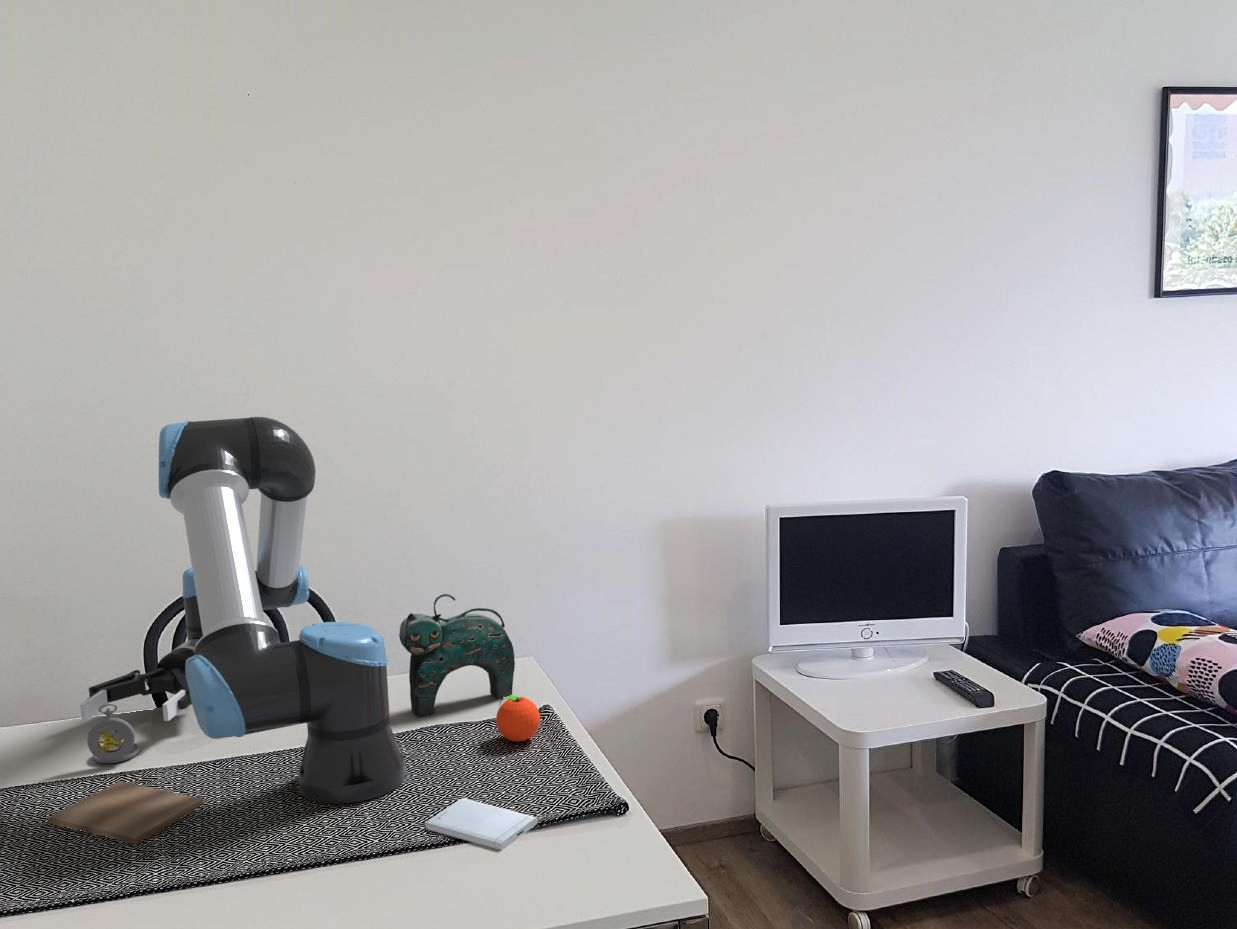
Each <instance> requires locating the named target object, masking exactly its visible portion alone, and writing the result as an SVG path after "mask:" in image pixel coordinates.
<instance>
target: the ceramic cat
mask: <svg viewBox="0 0 1237 929" xmlns="http://www.w3.org/2000/svg"><path fill="white" fill-rule="evenodd" d="M443 597H444V598H445V597H449V598H451V599H452V600H453V601H454V602H455V600H456V598H455V597H454V596H453V595H451V594H448V593H443V594H440V595H439V596H437V597H436V598H435V599H434V602H433V612H434V615H433V616H431V615H428V614H424V613H412V612H411V613H409V614H408V615H407V617H405V619H403V620H402V622H401V624H400V626H399V636H398V637H399V640H400V643H401V645H402V646H403V647H404V649H405V650H406V651H407V653H409V654H410V659H409V660H410V661H409V671H408V672H409V677H408V678H409V690H410V691H409V695H410V697H409V698H410V707H411V711H412V712H413V714H414V715H415V716H416V717H418V718H421V717H427V716H431V715H433V714H434V713H435V705H436V700H437V694H438V692H439V689H440V687H441V686H442V683H443V682H444V680H445V679H446V677H447V676H448V675H450V673H452V672H455V671H456V670H457V671H458V670H459V669H461V668H465V667H468V666H469V667H470V666H473V667H478V668H481V669H482V670H484V671H486V673H487V675H488V680H489V692H490V693H489V694H490V695H491V696H493V698H495V699H497V698H502V699H503V697H507V696H510V695H511V696H513V685H514V677H515V676H514V674H515V670H516V669H515V668H516V667H515V664H516V661H515V650H514V646H513V643H512V641H511V639H510V637H509V636H508V633H507V632H506V630H505V629H504V628H505V627H506V626H505V623H504V619H503V618H502V615H500V613H499V612H497V611H496V610H494V609H491V608H488V607H487V608H486V607H475V608H471V609H468V610H466V611H464V612H462V613H460V614H459V615H455V616H451V617H447V618H444V617H443V618H442V617H441V616H442V614H441V613H439V614H438V613H437V610H436V604H437V602H438V600H439V599H441V598H443ZM476 611H477V612H478V611H479V612H491V613H492V614H494V615H495V616H497V617H498V618H499V620H500V622H501V624H500V623H499V622H497V621H496V620H494V618H490V617H488V616H487V615H484V614H480V613H479V614H478V613H472V612H476Z"/></svg>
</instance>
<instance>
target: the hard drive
mask: <svg viewBox="0 0 1237 929" xmlns="http://www.w3.org/2000/svg"><path fill="white" fill-rule="evenodd" d="M537 823H538V824H539V818H538V817H537V816H532V815H529V814H525V813H521V812H518V811H514V810H510V809H506V808H502V807H498V806H495V805H491V804H487V803H482V802H480V801H476V800H472V799H469V798H464V797H463V798H461V799H459V800H457V801H456V802H454V803H453V804H452V805H449V806H448V807H447V808H445V809H443V810H442V811H441V812H439V813H438V814H436V815H435V816H433V817H432V818H430V819H429V820H427V821H426V824H425V829H426V830H429V831H432V832H435V833H439V834H442V835H446V836H450V837H452V838H457V839H461V840H463V841H467V842H471V843H474V844H477V845H481V846H485V847H488V848H493V849H496V850H499V851H504V849H506V848H507V847H508V846H510V845H511V844H513V843H514V842H515V841H516V840H518V839H519V838H520V837H522V836H523V835H524V834H526V833H527V832H528V831H530V830H531V829H533V828H534V827H535V826H536V825H538V824H537Z"/></svg>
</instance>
